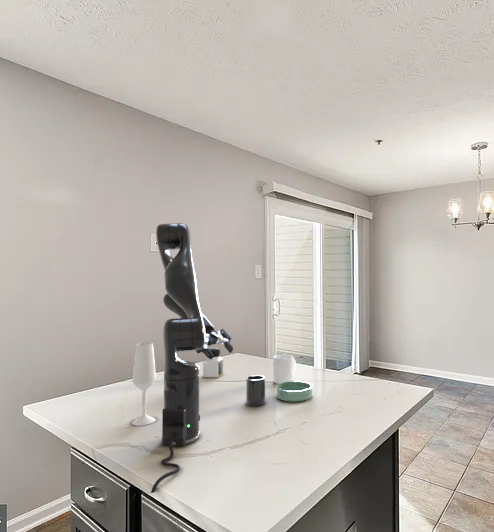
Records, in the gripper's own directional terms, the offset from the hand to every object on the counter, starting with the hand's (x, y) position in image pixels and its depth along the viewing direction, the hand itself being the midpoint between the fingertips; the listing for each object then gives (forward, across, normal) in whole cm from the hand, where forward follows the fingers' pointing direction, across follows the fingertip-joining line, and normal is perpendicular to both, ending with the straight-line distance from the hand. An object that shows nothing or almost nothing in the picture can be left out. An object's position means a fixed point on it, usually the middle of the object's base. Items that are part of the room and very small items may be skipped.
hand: (222, 354), depth 137 cm
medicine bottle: (-14, +16, +34) cm, 40 cm away
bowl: (+26, +17, +4) cm, 31 cm away
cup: (+20, +3, +7) cm, 21 cm away
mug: (+13, +30, +16) cm, 37 cm away
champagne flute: (+6, -29, +12) cm, 32 cm away
